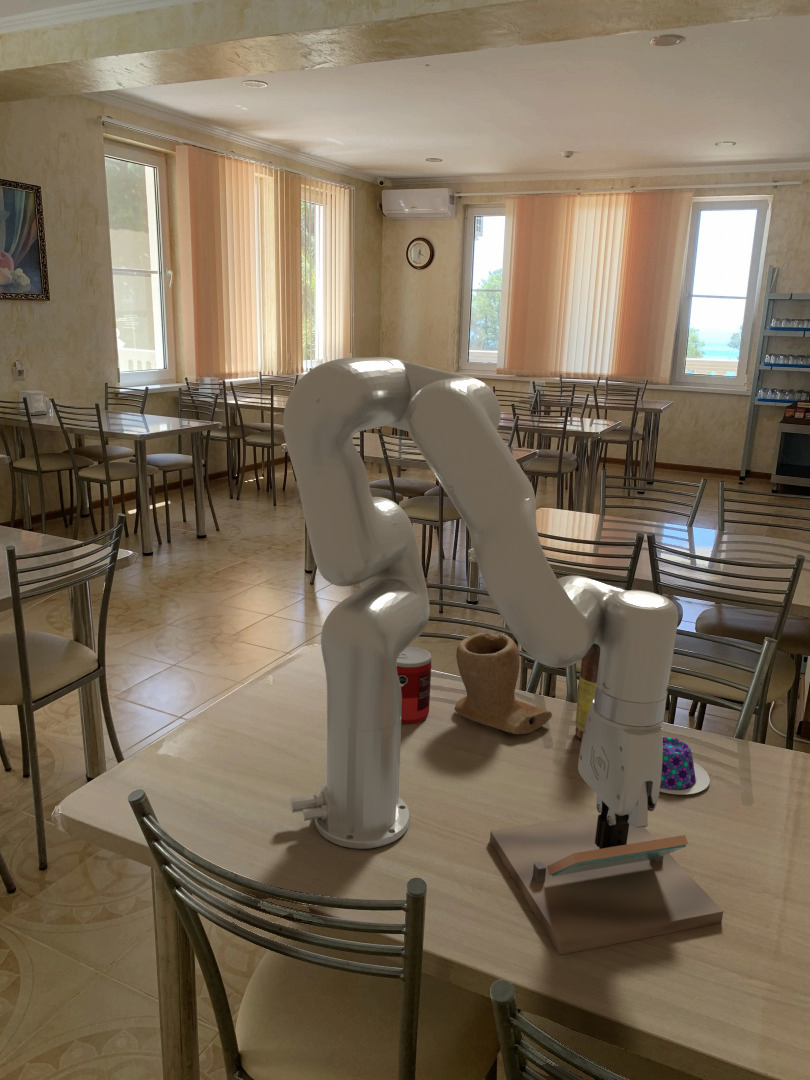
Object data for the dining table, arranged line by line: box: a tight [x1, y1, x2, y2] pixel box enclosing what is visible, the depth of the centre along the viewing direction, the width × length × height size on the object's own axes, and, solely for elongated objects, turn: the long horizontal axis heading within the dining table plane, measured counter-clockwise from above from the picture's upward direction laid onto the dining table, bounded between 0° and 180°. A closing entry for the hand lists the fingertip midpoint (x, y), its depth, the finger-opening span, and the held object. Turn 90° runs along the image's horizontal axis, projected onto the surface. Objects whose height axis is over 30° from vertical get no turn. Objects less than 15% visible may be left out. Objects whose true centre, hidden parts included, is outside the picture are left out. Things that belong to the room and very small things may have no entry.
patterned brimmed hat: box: [659, 736, 711, 795], centre depth 120 cm, size 12×12×5 cm
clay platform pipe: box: [454, 632, 553, 735], centre depth 133 cm, size 15×12×15 cm
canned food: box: [396, 645, 432, 725], centre depth 135 cm, size 8×8×11 cm
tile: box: [547, 834, 689, 877], centre depth 92 cm, size 8×14×1 cm
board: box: [489, 813, 724, 955], centre depth 96 cm, size 20×20×3 cm
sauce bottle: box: [574, 644, 600, 741], centre depth 129 cm, size 6×6×20 cm
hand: (610, 846), depth 93 cm, fingers closed
